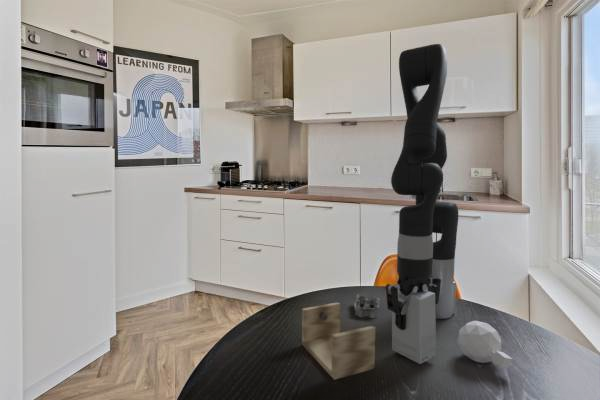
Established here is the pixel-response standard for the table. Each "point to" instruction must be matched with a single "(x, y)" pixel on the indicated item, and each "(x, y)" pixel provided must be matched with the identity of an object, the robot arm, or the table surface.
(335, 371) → the holder
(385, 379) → the table surface
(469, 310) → the table surface
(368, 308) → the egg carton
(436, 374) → the table surface
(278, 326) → the table surface
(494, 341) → the perfume bottle
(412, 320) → the skincare box
